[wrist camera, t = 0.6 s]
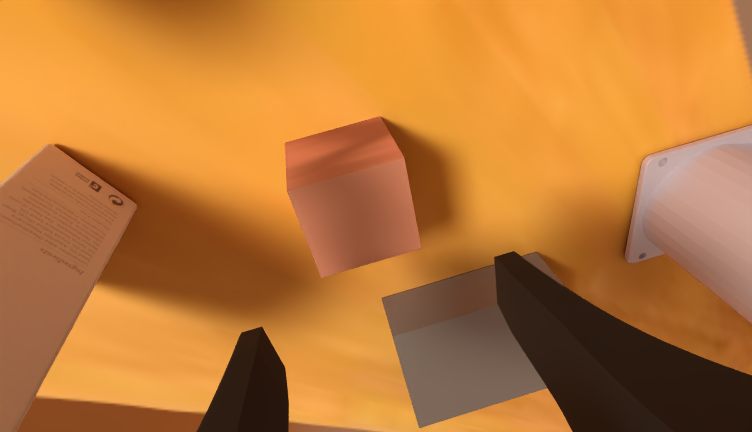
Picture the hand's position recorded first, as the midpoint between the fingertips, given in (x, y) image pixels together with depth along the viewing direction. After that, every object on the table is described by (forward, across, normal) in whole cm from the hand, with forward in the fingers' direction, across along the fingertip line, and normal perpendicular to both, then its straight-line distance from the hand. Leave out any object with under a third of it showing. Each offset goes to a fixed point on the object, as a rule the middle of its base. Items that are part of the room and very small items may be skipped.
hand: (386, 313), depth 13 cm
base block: (+9, -5, +14) cm, 18 cm away
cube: (+10, 0, 0) cm, 10 cm away
